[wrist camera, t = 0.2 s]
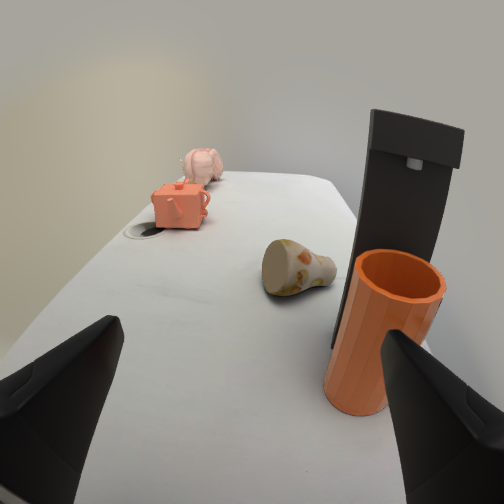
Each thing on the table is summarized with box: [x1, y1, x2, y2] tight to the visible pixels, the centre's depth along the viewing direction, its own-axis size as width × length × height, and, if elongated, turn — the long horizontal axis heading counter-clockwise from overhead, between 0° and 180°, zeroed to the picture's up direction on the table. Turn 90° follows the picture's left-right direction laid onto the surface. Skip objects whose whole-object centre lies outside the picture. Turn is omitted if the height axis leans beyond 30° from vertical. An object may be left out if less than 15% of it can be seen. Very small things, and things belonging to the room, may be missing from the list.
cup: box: [324, 249, 446, 416], centre depth 22 cm, size 7×7×13 cm
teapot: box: [151, 178, 210, 229], centre depth 56 cm, size 12×15×8 cm
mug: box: [262, 239, 337, 296], centre depth 38 cm, size 8×10×10 cm
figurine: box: [180, 148, 223, 187], centre depth 80 cm, size 11×12×18 cm
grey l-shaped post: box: [331, 109, 465, 349], centre depth 24 cm, size 4×7×24 cm, turn 71°
